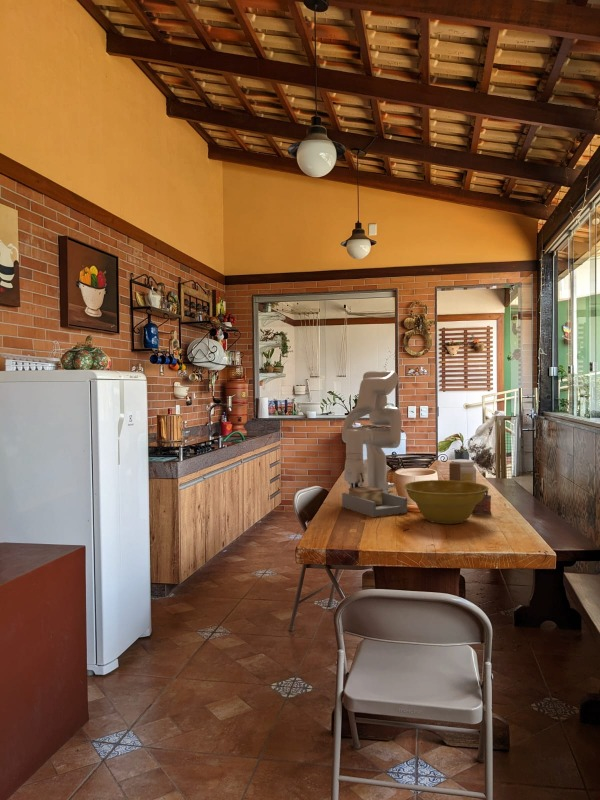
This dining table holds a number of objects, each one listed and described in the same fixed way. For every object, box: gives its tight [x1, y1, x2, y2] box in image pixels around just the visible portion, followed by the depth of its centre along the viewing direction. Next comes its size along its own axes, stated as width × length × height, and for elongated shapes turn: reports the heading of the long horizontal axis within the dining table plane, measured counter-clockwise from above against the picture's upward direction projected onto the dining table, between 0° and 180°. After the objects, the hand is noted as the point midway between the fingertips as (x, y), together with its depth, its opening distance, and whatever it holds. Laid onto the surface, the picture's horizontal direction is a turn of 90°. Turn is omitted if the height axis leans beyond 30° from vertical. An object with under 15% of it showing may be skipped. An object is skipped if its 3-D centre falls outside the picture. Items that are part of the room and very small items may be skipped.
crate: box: [348, 485, 383, 505], centre depth 247 cm, size 11×9×6 cm
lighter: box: [471, 489, 492, 515], centre depth 233 cm, size 8×3×10 cm, turn 65°
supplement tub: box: [450, 458, 477, 483], centre depth 270 cm, size 12×12×17 cm
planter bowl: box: [403, 479, 489, 525], centre depth 222 cm, size 32×32×13 cm
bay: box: [341, 492, 408, 518], centre depth 242 cm, size 17×23×6 cm
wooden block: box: [448, 462, 461, 481], centre depth 252 cm, size 9×4×18 cm, turn 70°
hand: (354, 497), depth 254 cm, fingers closed
